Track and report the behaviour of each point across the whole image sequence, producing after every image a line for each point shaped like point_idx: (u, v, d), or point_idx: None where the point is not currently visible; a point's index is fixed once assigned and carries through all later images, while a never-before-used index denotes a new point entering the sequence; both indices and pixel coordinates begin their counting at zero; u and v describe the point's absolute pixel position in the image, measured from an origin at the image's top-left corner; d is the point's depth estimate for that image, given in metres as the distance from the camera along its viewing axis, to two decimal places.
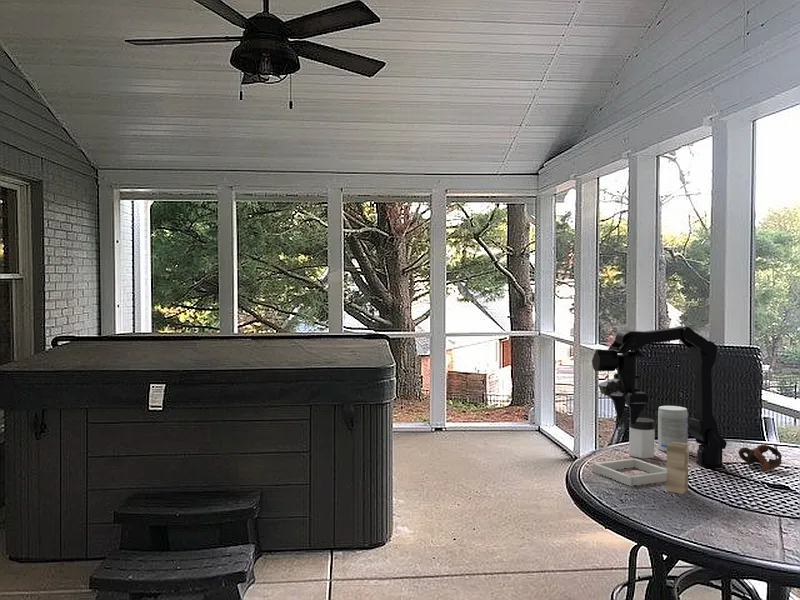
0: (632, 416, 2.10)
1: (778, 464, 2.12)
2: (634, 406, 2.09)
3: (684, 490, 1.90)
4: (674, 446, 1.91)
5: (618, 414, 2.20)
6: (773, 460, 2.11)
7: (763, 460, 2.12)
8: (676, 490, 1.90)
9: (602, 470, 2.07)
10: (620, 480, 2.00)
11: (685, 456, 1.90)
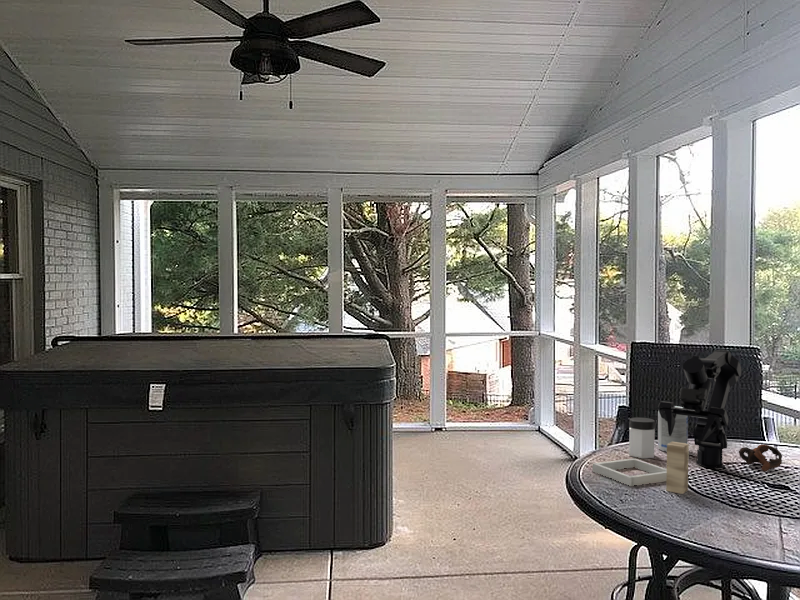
0: (707, 431, 1.97)
1: (778, 464, 2.12)
2: None
3: (684, 490, 1.90)
4: (674, 446, 1.91)
5: (670, 431, 2.02)
6: (773, 460, 2.11)
7: (763, 460, 2.12)
8: (676, 490, 1.90)
9: (602, 470, 2.07)
10: (620, 480, 2.00)
11: (685, 456, 1.90)
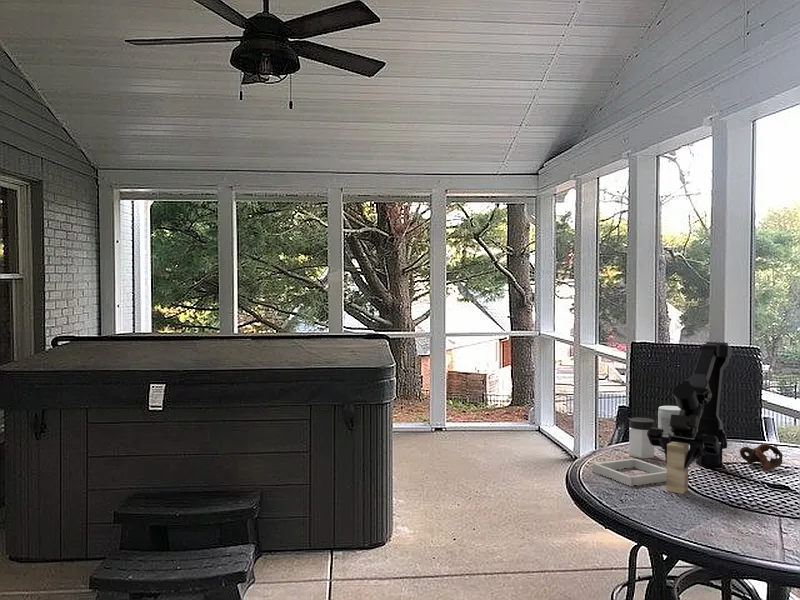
0: (690, 459, 1.90)
1: (779, 463, 2.13)
2: None
3: (684, 490, 1.90)
4: (674, 446, 1.91)
5: None
6: (774, 459, 2.12)
7: (764, 459, 2.13)
8: (676, 490, 1.90)
9: (602, 470, 2.07)
10: (620, 480, 2.00)
11: (685, 456, 1.90)
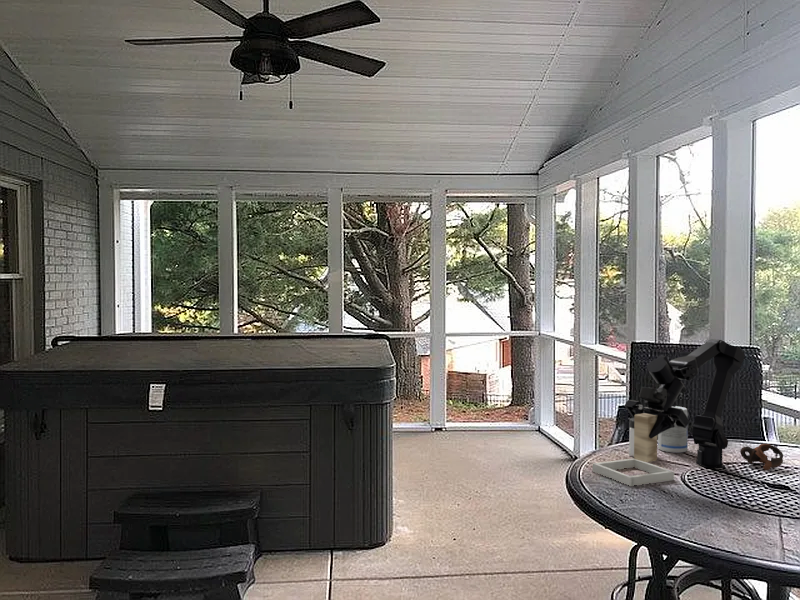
0: (655, 430, 1.98)
1: (780, 463, 2.13)
2: (662, 422, 1.99)
3: (649, 459, 1.99)
4: (640, 416, 2.00)
5: None
6: (775, 459, 2.12)
7: (765, 459, 2.13)
8: (641, 458, 2.00)
9: (602, 470, 2.07)
10: (620, 480, 2.00)
11: (651, 426, 1.99)
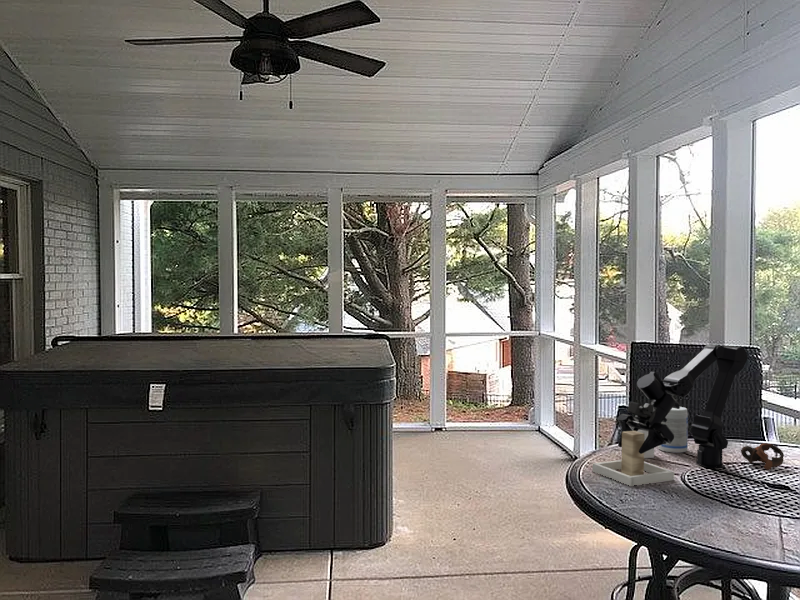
0: (645, 445, 2.02)
1: (780, 462, 2.14)
2: (653, 438, 2.02)
3: None
4: (626, 434, 2.06)
5: (621, 442, 2.10)
6: (776, 458, 2.13)
7: (766, 458, 2.14)
8: None
9: (602, 470, 2.07)
10: (620, 480, 2.00)
11: (637, 444, 2.04)
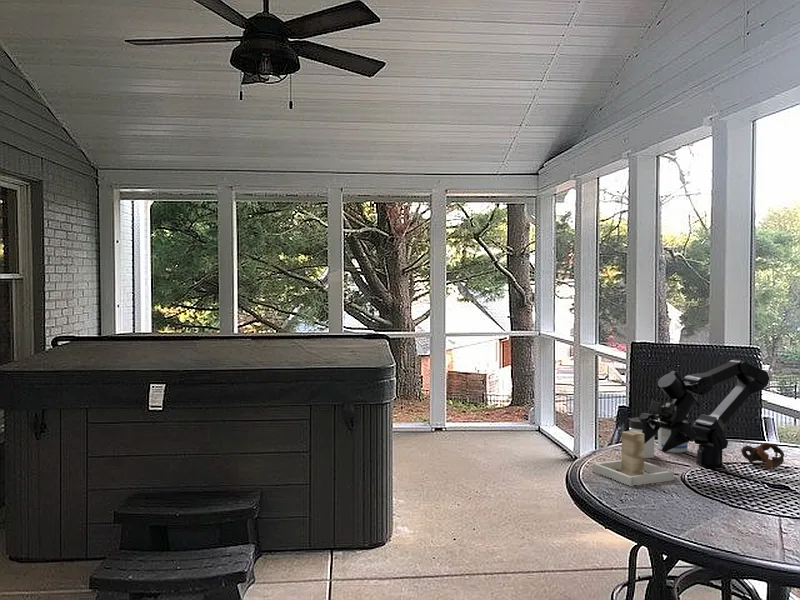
0: (668, 444, 2.05)
1: (781, 462, 2.14)
2: (675, 437, 2.05)
3: None
4: (626, 434, 2.06)
5: None
6: (776, 458, 2.14)
7: (766, 458, 2.14)
8: None
9: (602, 470, 2.07)
10: (620, 480, 2.00)
11: (636, 444, 2.04)
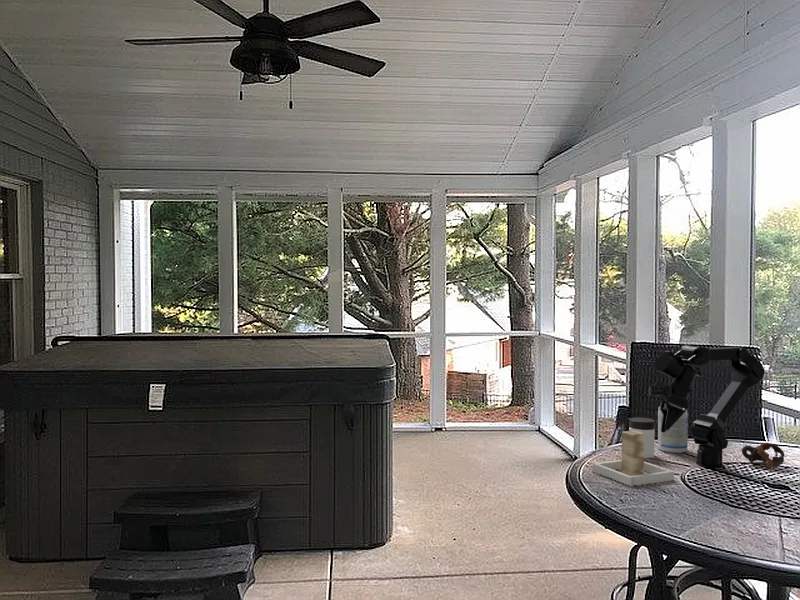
0: (667, 420, 2.07)
1: (781, 462, 2.15)
2: (673, 411, 2.07)
3: None
4: (626, 434, 2.06)
5: (662, 427, 2.16)
6: (777, 458, 2.14)
7: (767, 458, 2.15)
8: None
9: (602, 470, 2.07)
10: (620, 480, 2.00)
11: (636, 444, 2.04)
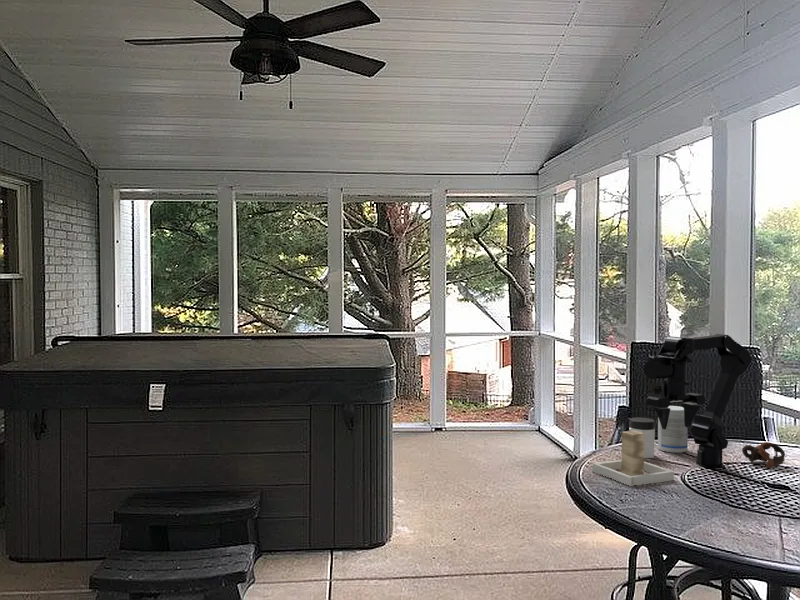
0: (660, 420, 2.11)
1: (782, 461, 2.16)
2: (661, 411, 2.11)
3: None
4: (626, 434, 2.06)
5: (685, 422, 2.15)
6: (777, 457, 2.15)
7: (768, 457, 2.15)
8: None
9: (602, 470, 2.07)
10: (620, 480, 2.00)
11: (636, 444, 2.04)
